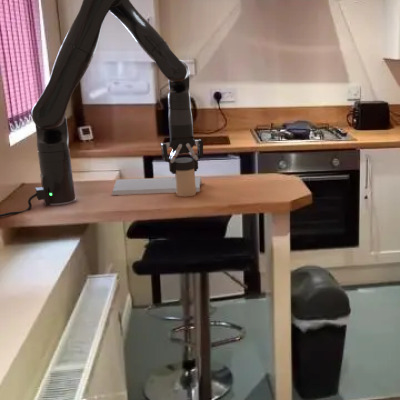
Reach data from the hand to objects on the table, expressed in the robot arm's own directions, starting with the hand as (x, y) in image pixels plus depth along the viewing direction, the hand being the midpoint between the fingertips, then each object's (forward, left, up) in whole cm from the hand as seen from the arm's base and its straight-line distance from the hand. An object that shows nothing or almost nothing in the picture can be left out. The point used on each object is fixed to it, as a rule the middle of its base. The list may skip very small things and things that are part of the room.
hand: (184, 172), depth 199 cm
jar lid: (0, -1, +4) cm, 4 cm away
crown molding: (-6, +12, -8) cm, 16 cm away
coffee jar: (0, 0, -8) cm, 8 cm away
